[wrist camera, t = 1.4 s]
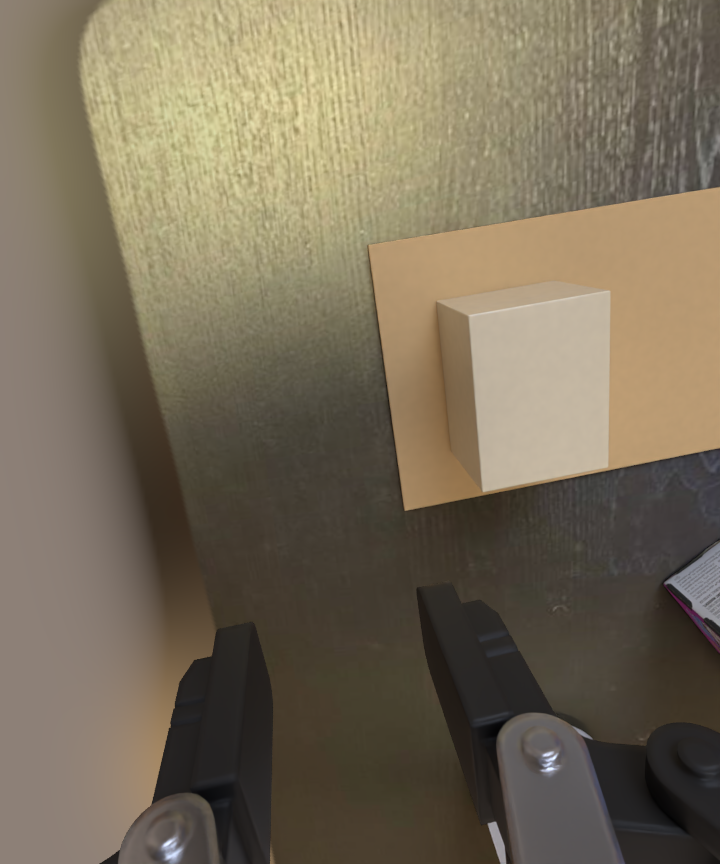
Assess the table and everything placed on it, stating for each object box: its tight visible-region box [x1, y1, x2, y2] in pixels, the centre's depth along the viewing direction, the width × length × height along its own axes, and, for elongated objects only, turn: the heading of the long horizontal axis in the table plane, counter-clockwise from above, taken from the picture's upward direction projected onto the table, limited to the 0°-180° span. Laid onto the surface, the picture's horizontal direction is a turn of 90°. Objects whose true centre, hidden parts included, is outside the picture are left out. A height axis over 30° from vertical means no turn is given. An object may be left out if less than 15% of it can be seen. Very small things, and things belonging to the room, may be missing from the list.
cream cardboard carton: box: [436, 281, 611, 492], centre depth 26 cm, size 6×8×5 cm
